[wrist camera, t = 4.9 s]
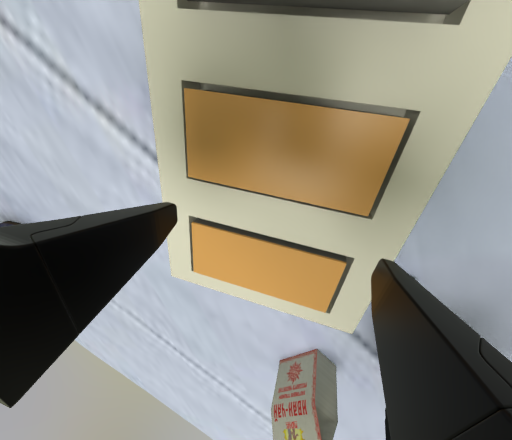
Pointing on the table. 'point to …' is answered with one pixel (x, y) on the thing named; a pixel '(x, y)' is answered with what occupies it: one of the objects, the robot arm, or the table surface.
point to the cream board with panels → (325, 94)
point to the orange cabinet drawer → (266, 264)
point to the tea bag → (305, 398)
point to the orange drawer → (291, 148)
